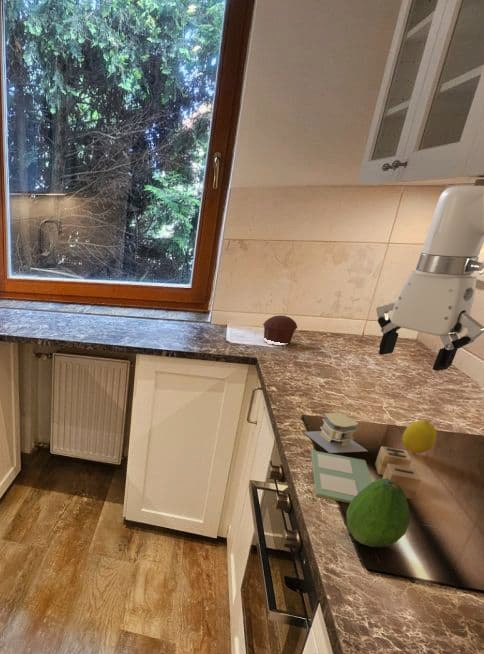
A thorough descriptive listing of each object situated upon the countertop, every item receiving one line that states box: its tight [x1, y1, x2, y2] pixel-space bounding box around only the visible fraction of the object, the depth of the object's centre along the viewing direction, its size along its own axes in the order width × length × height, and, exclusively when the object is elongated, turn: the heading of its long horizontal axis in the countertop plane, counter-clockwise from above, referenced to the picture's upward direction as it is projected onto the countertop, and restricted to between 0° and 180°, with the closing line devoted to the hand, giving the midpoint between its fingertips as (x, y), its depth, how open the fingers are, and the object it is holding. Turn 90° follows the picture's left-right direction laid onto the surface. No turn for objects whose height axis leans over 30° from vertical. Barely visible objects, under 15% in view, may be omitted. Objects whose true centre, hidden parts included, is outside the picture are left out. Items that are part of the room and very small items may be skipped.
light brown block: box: [374, 445, 413, 476], centre depth 95 cm, size 4×4×5 cm
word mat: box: [310, 449, 373, 504], centre depth 94 cm, size 10×18×1 cm, turn 154°
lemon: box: [401, 419, 438, 455], centre depth 101 cm, size 6×6×8 cm
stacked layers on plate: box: [302, 412, 368, 454], centre depth 107 cm, size 10×9×6 cm
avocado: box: [346, 478, 410, 548], centre depth 74 cm, size 8×8×12 cm
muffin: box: [262, 315, 298, 344], centre depth 176 cm, size 12×11×10 cm
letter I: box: [381, 463, 422, 500], centre depth 89 cm, size 4×4×4 cm
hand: (411, 361), depth 87 cm, fingers open, 9 cm apart
